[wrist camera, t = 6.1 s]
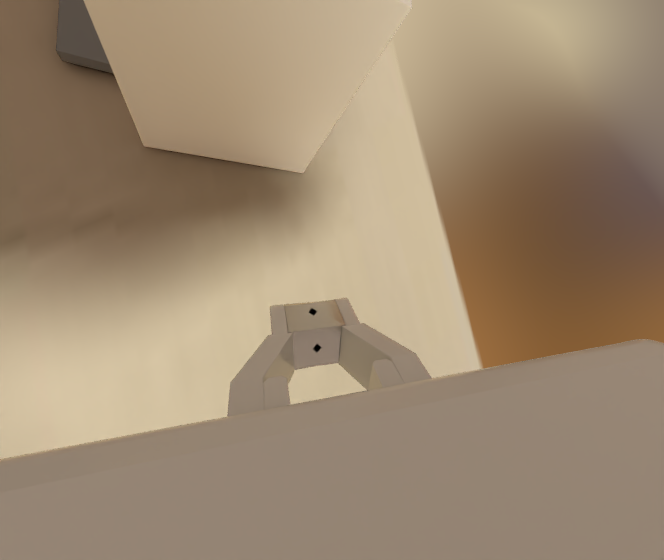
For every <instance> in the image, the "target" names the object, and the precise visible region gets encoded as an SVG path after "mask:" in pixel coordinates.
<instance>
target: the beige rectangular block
mask: <svg viewBox="0 0 664 560" xmlns="http://www.w3.org/2000/svg"><path fill="white" fill-rule="evenodd" d="M84 3H85V5H86V8H87V10H88V13H89V15H90V17H91V20H92V22H93V25H94V27H95V29H96V32H97V34H98V37H99V39H100V42H101V44H102V46H103V49H104V51H105V54H106V56H107V59H108V61H109V63H110V66H111V68H112V71H113V73H114V75H115V78H116V80H117V83H118V85H119V88H120V90H121V92H122V95H123V97H124V100H125V102H126V105H127V107H128V109H129V112H130V114H131V117H132V119H133V121H134V124H135V126H136V129H137V131H138V134H139V136H140V138H141V141H142V143H143V146H145V147H151V148H157V149H163V150H169V151H175V152H181V153H187V154H193V155H199V156H204V157H210V158H216V159H222V160H228V161H234V162H240V163H246V164H252V165H258V166H263V167H269V168H275V169H281V170H287V171H293V172H299V173H303V172H304V171H305V169H306V168H307V166H308V165H309V163H310V162H311V160H312V159H313V157H314V156H315V154H316V153H317V151H318V150H319V148H320V147H321V145H322V144H323V142H324V140H325V139H326V137H327V136H328V134H329V133H330V131H331V130H332V128H333V127H334V125H335V124H336V122H337V121H338V119H339V118H340V116H341V115H342V113H343V112H344V110H345V109H346V107H347V105H348V104H349V102H350V101H351V99H352V98H353V96H354V95H355V93H356V92H357V90H358V89H359V87H360V86H361V84H362V83H363V81H364V80H365V78H366V77H367V75H368V74H369V72H370V70H371V69H372V67H373V66H374V64H375V63H376V61H377V60H378V58H379V57H380V55H381V54H382V52H383V51H384V49H385V48H386V46H387V45H388V43H389V42H390V40H391V39H392V37H393V36H394V34H395V32H396V31H397V29H398V28H399V26H400V25H401V23H402V22H403V20H404V19H405V17H406V16H407V14H408V12H409V11H410V10H411V8H412V1H411V0H84Z"/></svg>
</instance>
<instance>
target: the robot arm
mask: <svg viewBox="0 0 664 560" xmlns="http://www.w3.org/2000/svg"><path fill="white" fill-rule="evenodd" d="M270 316H271V329H272V335H268V336H267V337H266V339H265V340H264V341H263V342H262V344H261V345H260V346H259V347H258V349H257V350H256V351H255V352H254V354H253V355H252V356H251V358H250V359H249V360H248V361H247V363H246V364H245V365H244V366H243V368H242V369H241V370H240V371H239V373H238V374H237V375H236V376H235V378H234V379H233V380H232V381H231V383H230V393H229V404H228V415H227V417H223V418H218V419H213V420H207V421H202V422H196V423H191V424H186V425H180V426H175V427H170V428H164V429H159V430H154V431H148V432H143V433H138V434H132V435H127V436H122V437H116V438H111V439H106V440H100V441H95V442H89V443H84V444H79V445H73V446H68V447H63V448H57V449H52V450H47V451H41V452H36V453H31V454H25V455H20V456H15V457H9V458H4V459H0V560H664V343H661V342H657V341H652V340H647V339H640V340H632V341H628V342H623V343H618V344H613V345H607V346H602V347H597V348H592V349H586V350H582V351H576V352H570V353H565V354H560V355H554V356H549V357H543V358H539V359H533V360H527V361H522V362H517V363H512V364H506V365H501V366H496V367H490V368H485V369H479V370H474V371H469V372H463V373H458V374H453V375H447V376H442V377H437V378H431V376H430V375H429V373H428V372H427V370H426V369H425V367H424V366H423V364H422V362H421V361H420V359H419V358H418V356H417V355H416V353H414V352H412V351H411V350H409V349H407V348H405V347H404V346H402V345H400V344H399V343H397V342H395V341H393V340H392V339H390V338H388V337H387V336H385V335H383V334H381V333H380V332H378V331H376V330H375V329H373V328H371V327H369V326H368V325H366V324H364V323H361V324H360V322H359V320H358V318H357V316H356V314H355V312H354V310H353V308H352V306H351V304H350V302H349V300H348V299H347V298H341V299H334V300H328V301H319V302H307V303H295V304H284V305H274V306H270ZM334 363H339V365H341V366H342V367H343V368H344V369H345V370H346V371H347V372H348V373H349V374H350V375H351V376H352V377H354V378H355V379H356V380H357V381H358V382H359V383H360V384H361V385H362V386H363V387H364V388H366V389H367V391H362V392H356V393H351V394H346V395H340V396H335V397H330V398H324V399H319V400H314V401H308V402H303V403H298V404H292V405H290V398H289V391H288V383H289V381H290V379H291V377H292V375H293V373H294V370H297V369H302V368H307V367H313V366H319V365H327V364H334Z"/></svg>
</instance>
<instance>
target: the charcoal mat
mask: <svg viewBox="0 0 664 560" xmlns="http://www.w3.org/2000/svg"><path fill="white" fill-rule="evenodd" d="M56 51H57V53H58V54H59V56H60V58H61V59H62V61H65V62H69V63H73V64H77V65H81V66H85V67H89V68H93V69H97V70H101V71H105V72H109V73H113V71H112V68H111V66H110V63H109V61H108V59H107V56H106V54H105V51H104V49H103V46H102V44H101V42H100V39H99V37H98V34H97V32H96V29H95V27H94V25H93V22H92V20H91V17H90V15H89V13H88V10H87V8H86V5H85V3H84V0H59V13H58V29H57V44H56ZM113 74H114V73H113Z"/></svg>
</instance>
